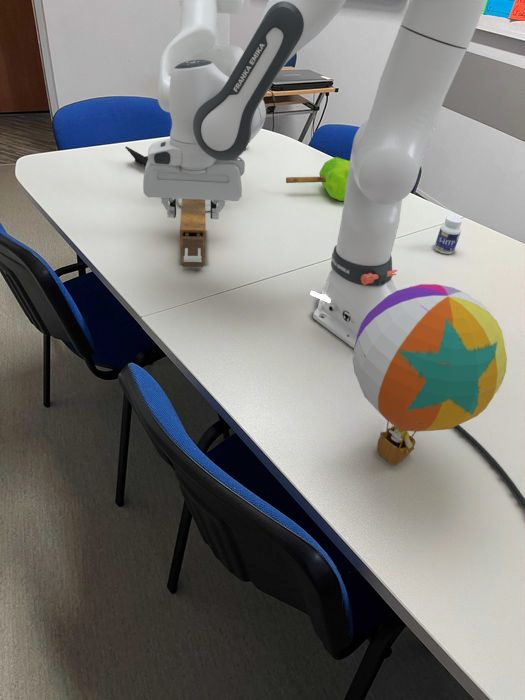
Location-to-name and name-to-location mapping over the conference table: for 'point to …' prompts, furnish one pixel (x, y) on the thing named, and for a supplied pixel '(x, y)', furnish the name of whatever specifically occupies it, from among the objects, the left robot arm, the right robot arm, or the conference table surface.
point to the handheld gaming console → (138, 157)
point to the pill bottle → (448, 235)
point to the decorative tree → (329, 177)
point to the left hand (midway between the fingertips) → (193, 216)
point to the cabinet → (193, 222)
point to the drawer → (192, 250)
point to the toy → (427, 362)
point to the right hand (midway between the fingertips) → (193, 217)
